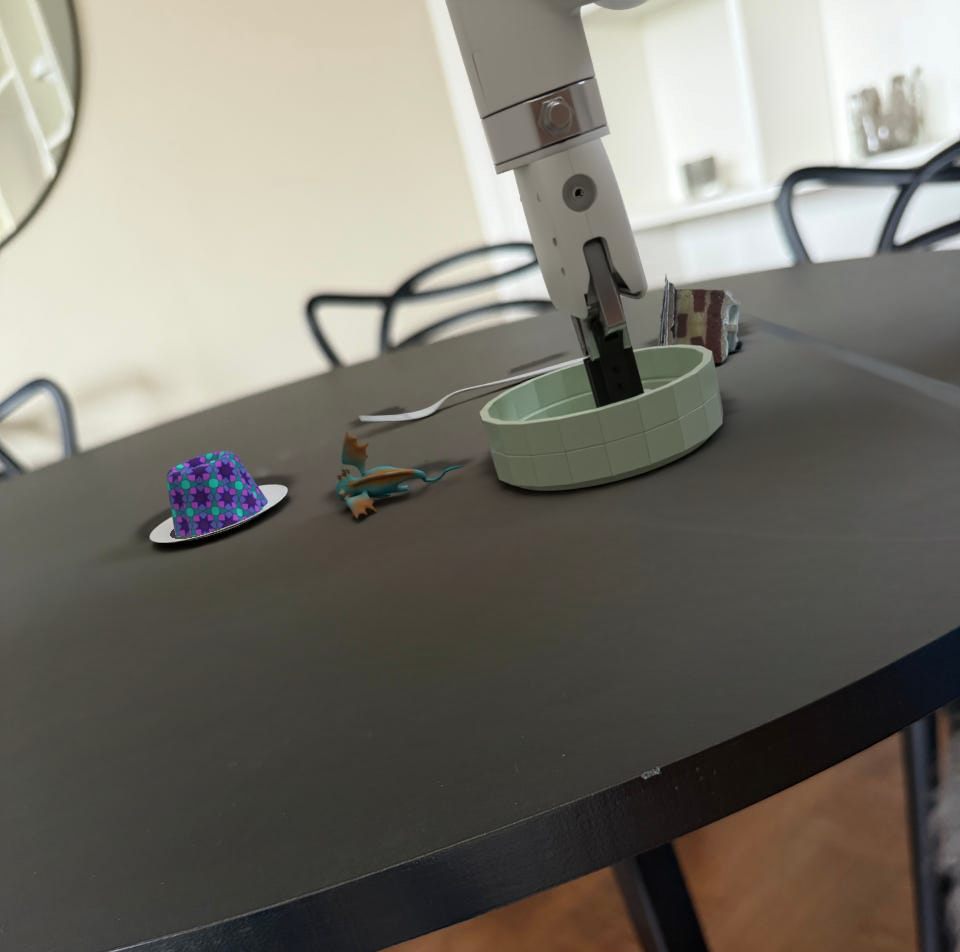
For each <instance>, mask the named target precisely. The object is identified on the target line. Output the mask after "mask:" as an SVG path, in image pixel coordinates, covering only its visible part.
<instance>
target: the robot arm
mask: <svg viewBox="0 0 960 952" xmlns="http://www.w3.org/2000/svg"><path fill="white" fill-rule="evenodd" d="M444 1H445V6H446V8H447V11H448V16H449V19H450V21H451V22H450V23H451V25H452V28H453V32H454V35H455V38H456V42H457V46H458V49H459V53H460V56H461V59H462V62H463V65H464V69H465V72H466V76H467V78H468V82H469V85H470V89H471V92H472V95H473V99H474V102H475V106H476V109H477V112H478V116H479V118H480V120H481V121H480V123H481V126H482V129H483V133H484V136H485V137H484V138H485V140H486V143H487V147H488V150H489V153H490V157H491V160H492V163H493V166H494V171H495V173H496V174H495V175H497V176H498V175H501V174H504V173H506V172H507V173H508V172H510V171H513V175H514V178H515V182H516V185H517V186H516V187H517V190H518V194H519V201H520V203H521V205H522V209H523V213H524V216H525V217H524V218H525V220H526V225H527V228H528V231H529V235H530V239H531V241H532V246H533V249H534V253H535V255H536V259H537V263H538V266H539V269H540V273H541V275H542V279H543V282H544V285H545V288H546V291H547V294H548V296H549V299H550V301H551V303H552V305H553V307H554V308H555V309H556V310H557V311H560V312H562V313H565V314H567V315H569V316H570V319H571V322H572V325H573V329H574V331H575V335H576V338H577V341H578V345H579V348H580V350H581V354H582V355H583V358H584V357H588V358H585V359H583V362H584V365H585V369H586V372H587V376H588V379H589V383H590V386H591V390H592V393H593V397H594V401H595V404H596V408H599V407H603V406H606V405H609V404H613V403H616V402H619V401H623V400H626V399H629V398H633V397H636V396H638V395H641V394H643V393H644V390H643V386H642V382H641V378H640V375H639V371H638V367H637V363H636V359H635V356H634V352H633V350H634V348H633V346H632V343H631V342H632V341H631V338H630V333H629V329H628V325H627V321H626V316H625V312H624V307H623V302H622V298H621V296H622V297H625V298H628V299H631V300H632V299H633V300H641V299H643V298H644V297H645V296H646V293H647V291H648V289H649V285H648V281H647V277H646V274H645V270H644V267H643V263H642V259H641V257H640V254H639V250H638V247H637V243H636V240H635V235H634V233H633V230H632V226H631V223H630V219H629V215H628V212H627V210H626V206H625V202H624V200H623V196H622V193H621V189H620V187H619V184H618V181H617V177H616V174H615V172H614V169H613V166H612V164H611V161H610V157H609V156H608V153H607V151H606V148H605V146H604V144H603V141H602V138H603V137H606V136H608V135H610V134H611V131H610V127H609V125H608V119H607V115H606V110H605V107H604V102H603V98H602V95H601V91H600V87H599V83H598V79H597V78H596V71H595V67H594V63H593V60H592V59H593V58H592V56H591V52H590V47H589V44H588V40H587V35H586V32H585V27H584V24H583V20H582V15H581V14H582V13H581V10H582V7H584V6H587V5H592V4H594V5H596V6H598V7H601V8H603V9H607V10H612V11H625V10H630V9H634V8H638V7H639V6H642V5H644V4H646V3H647V2H649V1H650V0H444Z"/></svg>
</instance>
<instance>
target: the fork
mask: <svg viewBox="0 0 960 952" xmlns="http://www.w3.org/2000/svg"><path fill="white" fill-rule="evenodd" d="M588 357H589V356H588ZM588 357H584V356H583V357H580V358H576V359H571V360H568V361H564V362H561V363H558V364H555V365H551V366H548V367H547V366H546V367H544V368H541V369H537V370H534V371H530V372H526V373H523V374H519V375H515V376H511V377H508V378H505V379H501V380H497V381H492V382H488V383H483V384H479V385H475V386H469V387H466V388H462V389H458V390H455V391H453V392H451V393H449V394H447V395H445V396H444V397H443V398H441V399H440V400H438V401H436V402H435V403H434V404H432V405H430V406H428V407H425V408H423V409H419V410H416V411H412V412H406V413H401V414H388V415H384V414H383V415H358V418H359V420H360V422H362V423H390V422H391V423H394V422H406V421H413V420H414V421H415V420H419V419H423V418H426V417H429V416H431V415H433V414H434V413H435V412H436V411H437V410H439V408H440V407H441V406H442V405H444V403H446V402H447V401H448V400H449V399H450V398H452V397H454V396H456V395H459V394H463V393H466V392H470V391H475V390H480V389H484V388H489V387H494V386H499V385H502V384H503V385H504V384H508V383H512V382H516V381H520V380H524V379H528V378H532V377H537V376H541V375H544V374H547V373H549V372H552V371H555V370H557V369H560V368H564V367H567V366H570V365H574V364H577V363H580V362H583V359H585V358H588Z"/></svg>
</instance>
